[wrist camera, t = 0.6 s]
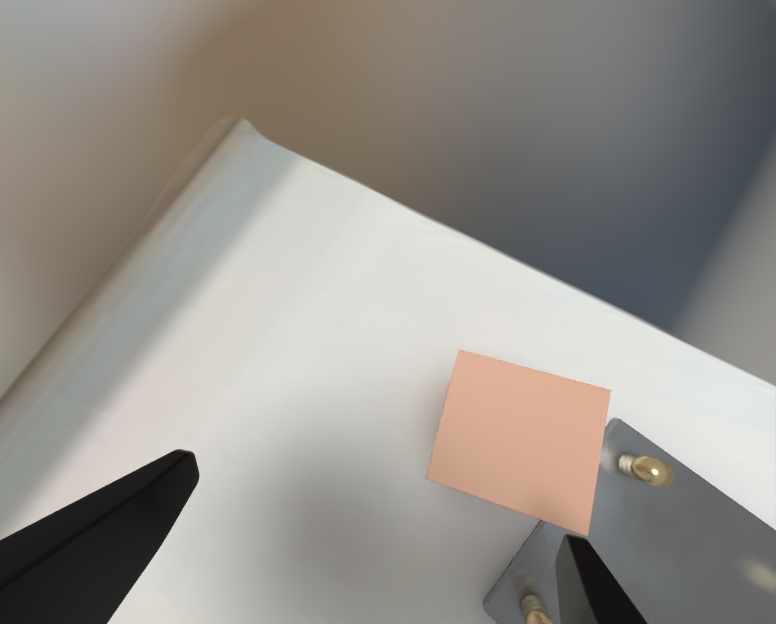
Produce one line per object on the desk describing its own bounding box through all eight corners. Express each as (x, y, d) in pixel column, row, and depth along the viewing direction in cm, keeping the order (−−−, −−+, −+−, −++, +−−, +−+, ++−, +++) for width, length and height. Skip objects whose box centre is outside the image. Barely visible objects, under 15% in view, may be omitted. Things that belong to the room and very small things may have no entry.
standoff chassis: (717, 832, 15) (788, 941, 12) (483, 602, 19) (490, 640, 16) (854, 592, 17) (949, 634, 13) (613, 418, 20) (644, 419, 17)
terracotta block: (512, 471, 20) (587, 536, 10) (434, 445, 21) (425, 478, 11) (527, 401, 21) (610, 390, 10) (451, 379, 22) (458, 349, 11)
